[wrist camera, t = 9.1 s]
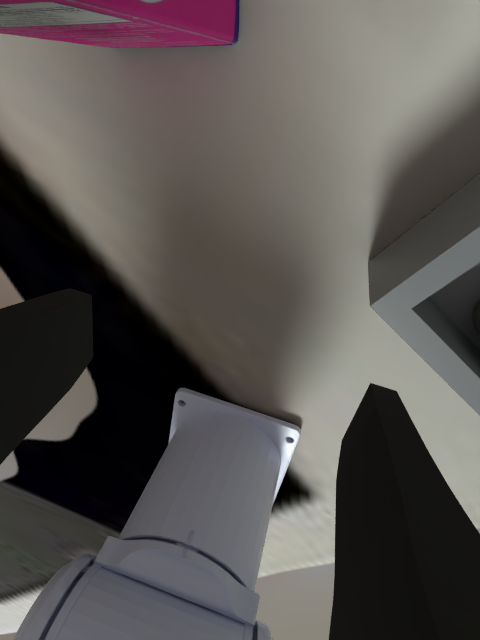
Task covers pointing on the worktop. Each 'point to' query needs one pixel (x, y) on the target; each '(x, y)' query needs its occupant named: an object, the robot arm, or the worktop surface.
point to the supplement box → (124, 21)
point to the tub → (436, 289)
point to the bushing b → (477, 316)
